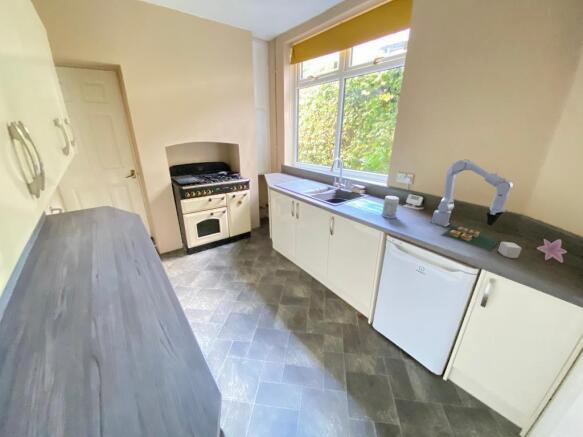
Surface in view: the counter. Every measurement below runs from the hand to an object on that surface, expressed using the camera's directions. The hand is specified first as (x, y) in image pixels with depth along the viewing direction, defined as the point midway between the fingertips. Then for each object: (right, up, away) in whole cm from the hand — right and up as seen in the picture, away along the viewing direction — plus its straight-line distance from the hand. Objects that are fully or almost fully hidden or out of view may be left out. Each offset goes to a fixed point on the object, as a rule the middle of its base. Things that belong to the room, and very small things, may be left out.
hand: (491, 223), depth 140 cm
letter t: (-6, -8, +6) cm, 11 cm away
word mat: (-11, -9, +3) cm, 14 cm away
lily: (+15, -18, -17) cm, 29 cm away
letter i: (-10, -6, +10) cm, 15 cm away
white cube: (-4, -17, -15) cm, 23 cm away
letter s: (-18, -8, +5) cm, 21 cm away
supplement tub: (-47, +4, +35) cm, 59 cm away
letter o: (-15, -9, +1) cm, 17 cm away
